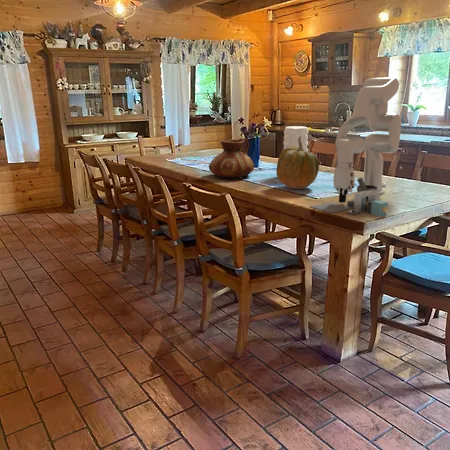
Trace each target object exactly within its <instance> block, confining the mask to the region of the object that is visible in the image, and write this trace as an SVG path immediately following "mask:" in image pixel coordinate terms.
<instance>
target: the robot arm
mask: <svg viewBox="0 0 450 450" xmlns="http://www.w3.org/2000/svg"><path fill="white" fill-rule="evenodd" d="M399 88H400V81H399V80H398V79H397V78H396V77H371V78H368V79H365V80H364V82H363V87H361V88H360V89H359V91H358V93H357V96H356V100H355V104H354V107H353V112H352V114H351V116H350V117H349V118H347V120H345V122H344V123H342V125H341V126H340V127H339V129H338V133H337V135H336V139H335V149H336V167H335V169H334V174H333V189H335V190H337V194H338V202H339V203H341V204H342V203H343V204H344V203H346V201H347V195H348V193H352V192H353V189H354V188H355V184H356V182H355V178H356V177H355V176H356V175H355V169H354V168H353V167H354V165H355V164H354V154H361V153H363V152H364V166H363V167H364V169H363V182H364V184H365V185H372V186H376V187H377V190H379V191H380V195H382V194H384V193H385V191H384V190H383V188H386V187H387V183H382V180H383V173H384V171H383V170H384V169H383V168H384V157H383V156H382V154H395V153H396V152H397V151H398V149H399V146H400V140H401V130H402V117H401V116H400V114H398V113H396V112H388V107H389V101H390V100H391V99H392V98H393V97H394V96H395V95H396V94H397V93H398V91H399ZM367 122H368V124H369V125H368V126H369V129H370V130H371V131H373V132H384V133H385V134H384V133H371V134H368V135H367V136H366V137H365V138H362V137H356V136H347V135H348V133H349V132H350V131H351V130H353V129H354V128H355V127H359V126H360V125H362V124H365V123H367ZM386 133H388V134H386ZM381 153H382V154H381Z"/></svg>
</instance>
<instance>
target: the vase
mask: <svg viewBox="0 0 450 450" xmlns="http://www.w3.org/2000/svg"><path fill="white" fill-rule="evenodd" d="M309 132H310V131H309V127H308V126H300V125H298V126H297V125H293V126H292V125H291V126H289V125H288V126H285V128H284V130H283V134H284V135H283V142H282V143H283V149H282V150H284V149H285V148H288V147H291V146H295V147H297V148H299V143H298V138H299V136H301V142H302V146H303V150H304V151H308V152H309V148H308V145H309V141H308V139H309Z"/></svg>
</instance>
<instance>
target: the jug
mask: <svg viewBox="0 0 450 450" xmlns="http://www.w3.org/2000/svg"><path fill="white" fill-rule="evenodd" d="M243 144H245V145H244V149H243V151H241V149H242V147H243ZM220 145H221V146H222V148H223V151H222V152H221V153H219V154H217V155H216V156H214V157H213V159H211V161H210V163H209V164H208V169H209V171H210V172H211V173H212V174H213V175H215V176H216V177H219V178H220V179H224V180H235V179H237V180H238V179H243V178H246V177H247V176H249V175H250V174H251V173H252V172H253V171H254V169H255V164H254V161H253V160H252V159H251V157H250V156H248V150H249V147H250V142H249V140H248V138H245V137H241V138H239V139H232V138H229V139H223V140H222V139H221V140H220Z"/></svg>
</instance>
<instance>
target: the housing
mask: <svg viewBox="0 0 450 450" xmlns="http://www.w3.org/2000/svg"><path fill="white" fill-rule="evenodd" d="M380 195H381V194H380V191H379V190H374V189H372V190H366V191H361V192H357V191H356V192H354V197H353V198H354V199H353V201H354V208H353V209H349V210H345V214H346V213H347V215H350V216H356V215H359V214H364V212H365V204H366V202H367V201H366V196H368V202H367V205H372V201H376V200H380ZM365 213H366V212H365Z"/></svg>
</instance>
